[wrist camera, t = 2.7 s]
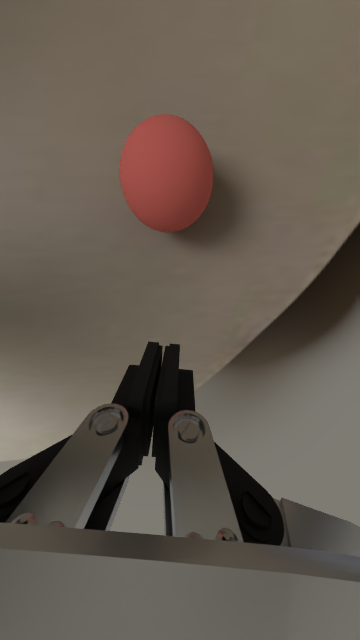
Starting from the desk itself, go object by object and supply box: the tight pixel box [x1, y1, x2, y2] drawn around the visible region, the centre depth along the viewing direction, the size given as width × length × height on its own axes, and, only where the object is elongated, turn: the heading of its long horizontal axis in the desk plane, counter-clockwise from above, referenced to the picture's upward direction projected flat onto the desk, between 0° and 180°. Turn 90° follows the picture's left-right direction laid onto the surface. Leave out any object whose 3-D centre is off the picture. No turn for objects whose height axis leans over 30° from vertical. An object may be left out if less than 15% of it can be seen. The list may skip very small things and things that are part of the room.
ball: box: [120, 114, 213, 232], centre depth 12 cm, size 6×6×6 cm
